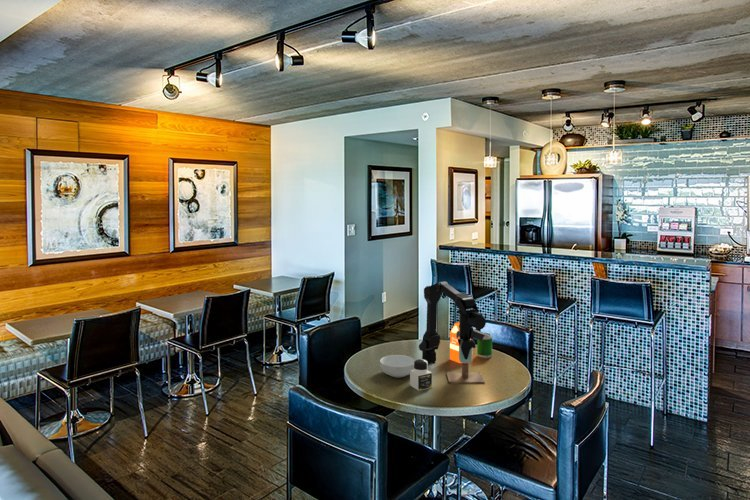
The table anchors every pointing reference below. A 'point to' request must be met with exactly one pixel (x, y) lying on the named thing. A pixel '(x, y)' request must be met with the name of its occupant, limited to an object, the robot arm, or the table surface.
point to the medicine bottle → (420, 375)
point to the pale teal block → (461, 356)
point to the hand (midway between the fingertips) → (465, 357)
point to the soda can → (485, 346)
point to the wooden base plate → (465, 376)
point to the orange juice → (454, 344)
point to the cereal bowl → (397, 365)
